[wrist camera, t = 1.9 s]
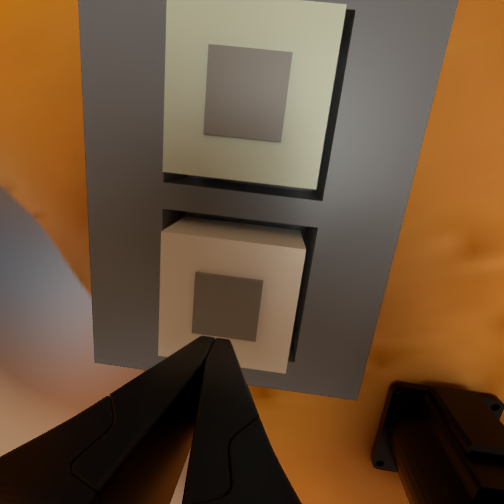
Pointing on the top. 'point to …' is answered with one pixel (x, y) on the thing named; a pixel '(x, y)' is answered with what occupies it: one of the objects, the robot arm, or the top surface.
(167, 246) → the cream key
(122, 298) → the gray keypad housing
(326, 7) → the sage key
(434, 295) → the top surface
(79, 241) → the top surface
